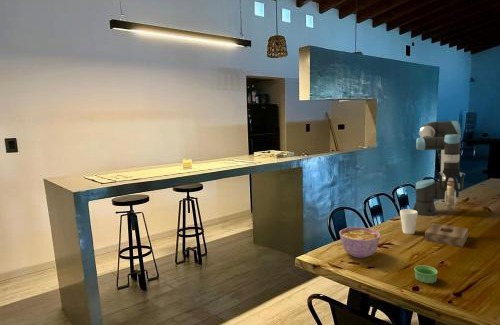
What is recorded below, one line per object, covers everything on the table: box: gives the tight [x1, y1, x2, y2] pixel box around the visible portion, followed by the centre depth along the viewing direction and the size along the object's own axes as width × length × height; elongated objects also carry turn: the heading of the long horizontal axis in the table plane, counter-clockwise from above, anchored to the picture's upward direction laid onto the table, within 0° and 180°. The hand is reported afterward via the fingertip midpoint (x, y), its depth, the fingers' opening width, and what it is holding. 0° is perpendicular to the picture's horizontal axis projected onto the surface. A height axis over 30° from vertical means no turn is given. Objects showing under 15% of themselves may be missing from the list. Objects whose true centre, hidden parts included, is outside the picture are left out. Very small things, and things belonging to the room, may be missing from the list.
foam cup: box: [399, 208, 418, 235], centre depth 198 cm, size 10×9×13 cm
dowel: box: [445, 181, 456, 211], centre depth 189 cm, size 4×4×16 cm
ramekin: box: [413, 264, 439, 284], centre depth 142 cm, size 9×9×4 cm
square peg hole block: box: [424, 222, 469, 248], centre depth 186 cm, size 18×18×5 cm
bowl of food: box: [339, 226, 381, 259], centre depth 170 cm, size 20×20×12 cm
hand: (450, 202), depth 189 cm, fingers closed on dowel, 4 cm apart
